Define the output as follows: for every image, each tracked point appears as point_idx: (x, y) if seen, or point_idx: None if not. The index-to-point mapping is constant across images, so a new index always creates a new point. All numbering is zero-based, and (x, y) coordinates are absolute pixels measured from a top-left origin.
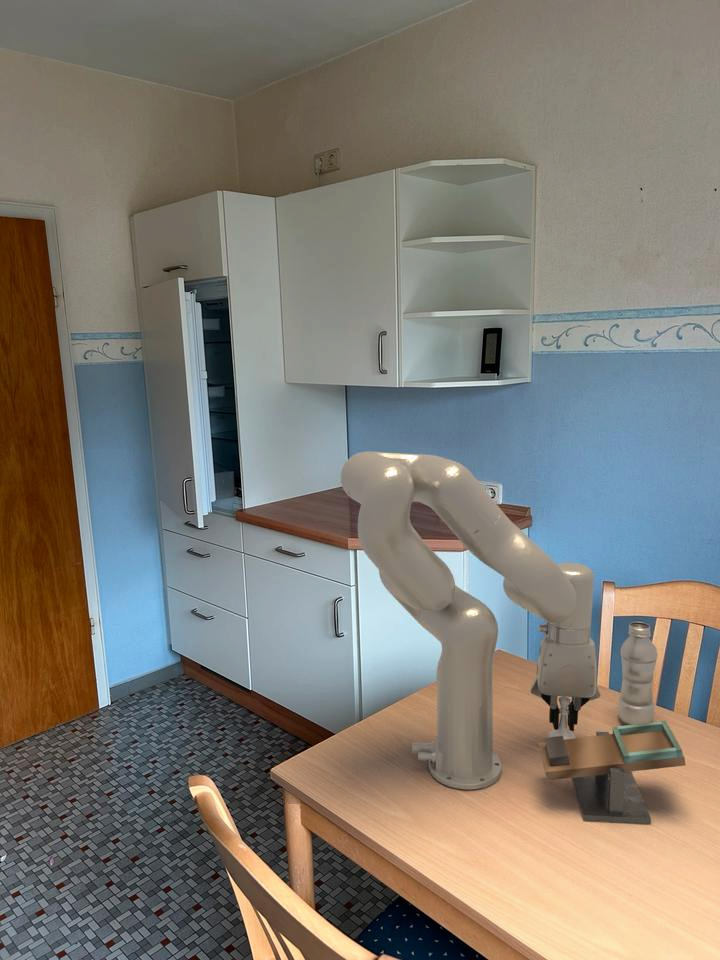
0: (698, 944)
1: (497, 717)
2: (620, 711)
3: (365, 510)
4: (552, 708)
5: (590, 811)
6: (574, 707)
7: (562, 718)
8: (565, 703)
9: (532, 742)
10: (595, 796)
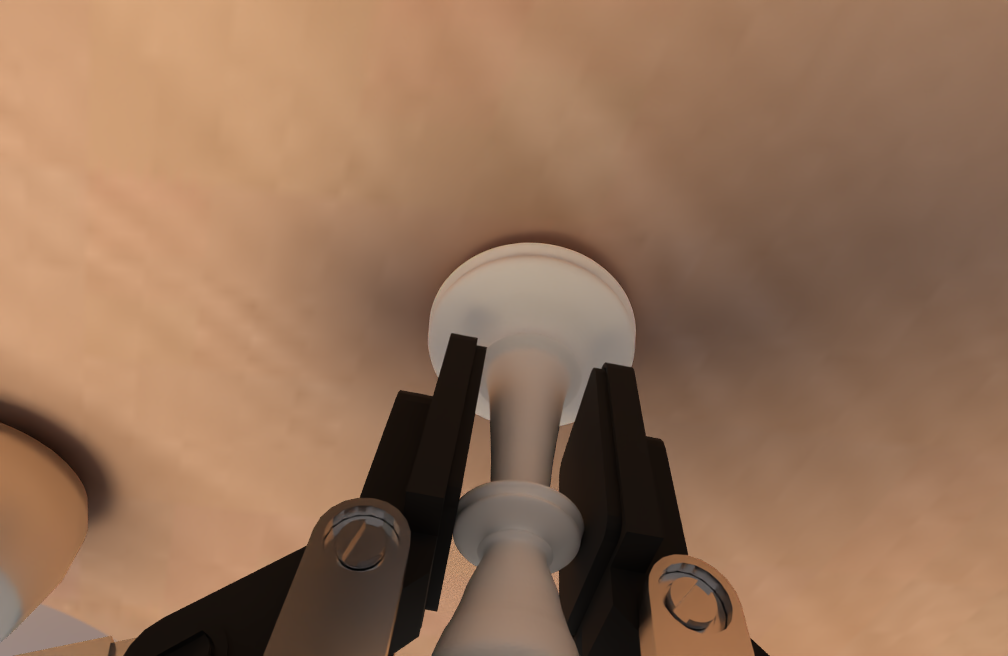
0: None
1: (797, 584)
2: (38, 530)
3: None
4: (694, 570)
5: None
6: (401, 547)
7: (539, 459)
8: (517, 624)
9: (731, 355)
10: None
